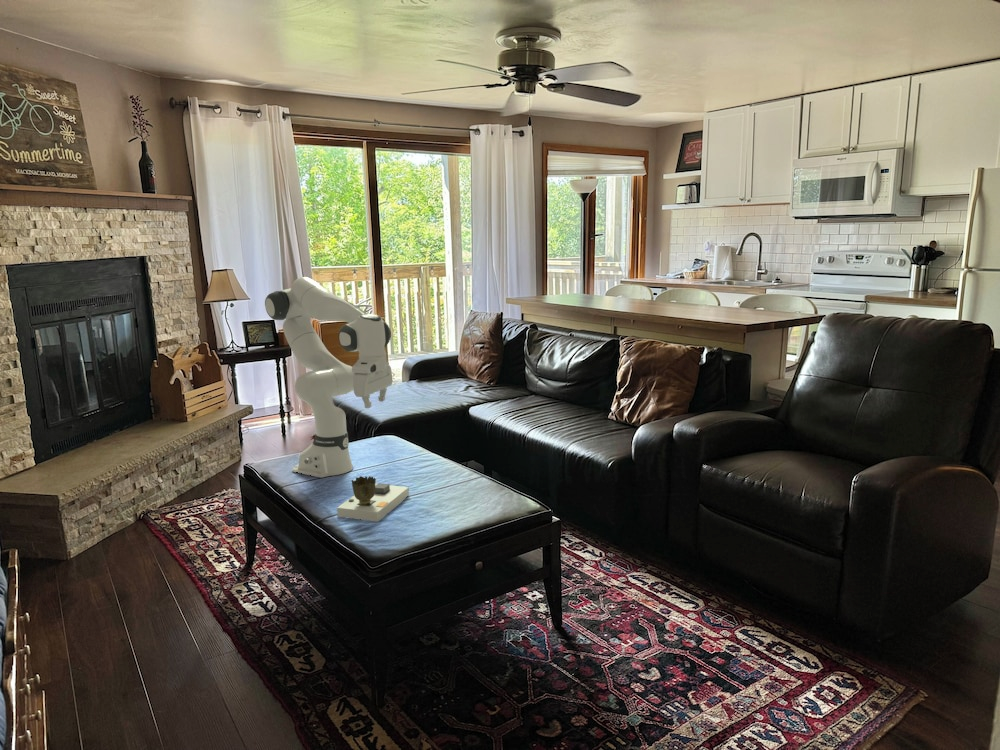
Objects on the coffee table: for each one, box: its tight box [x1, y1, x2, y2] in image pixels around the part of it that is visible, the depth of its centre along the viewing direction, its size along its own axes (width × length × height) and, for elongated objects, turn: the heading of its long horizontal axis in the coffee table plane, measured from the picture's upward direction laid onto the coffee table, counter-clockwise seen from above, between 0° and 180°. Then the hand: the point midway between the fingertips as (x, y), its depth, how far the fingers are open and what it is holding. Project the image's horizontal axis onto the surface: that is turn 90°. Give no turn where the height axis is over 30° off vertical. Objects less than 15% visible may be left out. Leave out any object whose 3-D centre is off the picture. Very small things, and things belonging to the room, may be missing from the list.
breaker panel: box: [336, 483, 410, 523], centre depth 213 cm, size 14×22×3 cm, turn 162°
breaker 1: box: [358, 500, 375, 506], centre depth 209 cm, size 4×4×3 cm
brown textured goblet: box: [351, 475, 377, 505], centre depth 206 cm, size 8×7×8 cm
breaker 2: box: [374, 482, 391, 495], centre depth 218 cm, size 4×4×3 cm
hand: (375, 404), depth 219 cm, fingers open, 8 cm apart
